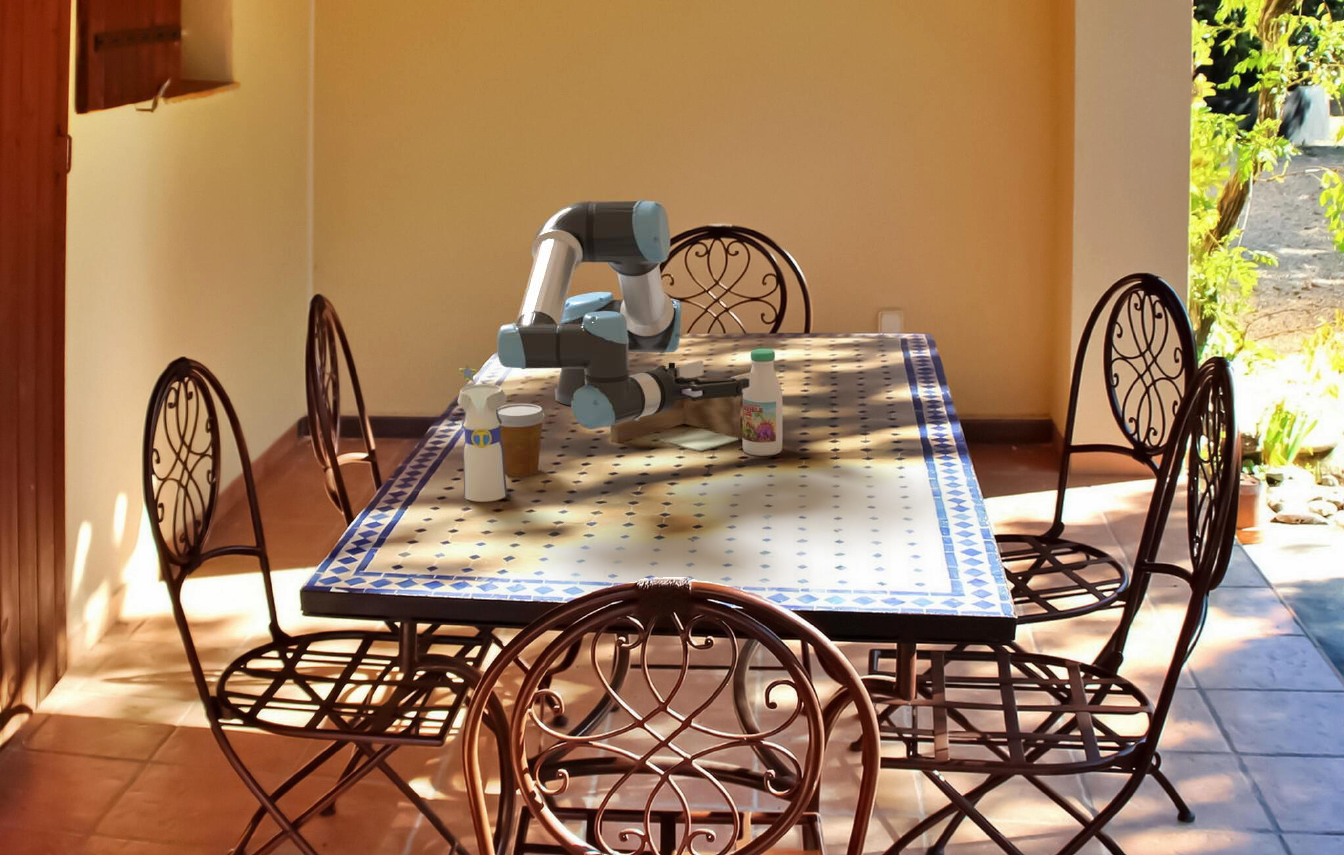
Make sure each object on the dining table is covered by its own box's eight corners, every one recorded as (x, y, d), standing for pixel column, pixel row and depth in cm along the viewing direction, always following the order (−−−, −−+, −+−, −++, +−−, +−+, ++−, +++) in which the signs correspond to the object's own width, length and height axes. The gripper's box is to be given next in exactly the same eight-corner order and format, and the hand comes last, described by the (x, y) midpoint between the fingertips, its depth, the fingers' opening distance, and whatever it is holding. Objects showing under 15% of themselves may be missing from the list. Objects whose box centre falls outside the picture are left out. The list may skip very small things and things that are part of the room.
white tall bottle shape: (510, 501, 253) (503, 362, 246) (461, 503, 252) (453, 364, 245) (511, 486, 260) (505, 352, 254) (464, 488, 260) (456, 353, 253)
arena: (610, 441, 288) (609, 392, 285) (683, 419, 302) (682, 373, 299) (677, 459, 275) (676, 408, 272) (749, 436, 290) (749, 388, 287)
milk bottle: (755, 443, 285) (756, 344, 279) (789, 449, 281) (790, 349, 275) (734, 452, 279) (734, 352, 273) (769, 459, 275) (769, 357, 269)
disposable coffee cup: (496, 464, 273) (493, 403, 270) (546, 463, 274) (544, 402, 271) (494, 480, 264) (491, 417, 261) (546, 478, 265) (544, 415, 262)
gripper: (599, 402, 263) (680, 382, 277) (699, 426, 246) (779, 403, 260) (598, 362, 261) (680, 344, 275) (699, 383, 244) (780, 363, 259)
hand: (728, 373), depth 268 cm, fingers open, 13 cm apart
